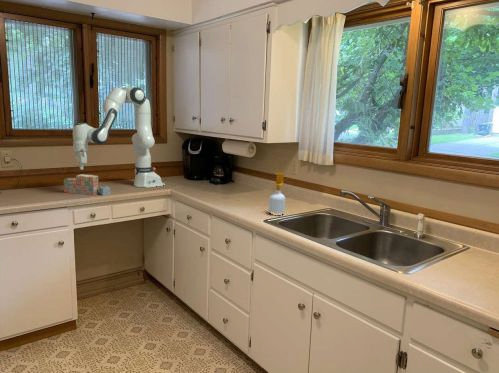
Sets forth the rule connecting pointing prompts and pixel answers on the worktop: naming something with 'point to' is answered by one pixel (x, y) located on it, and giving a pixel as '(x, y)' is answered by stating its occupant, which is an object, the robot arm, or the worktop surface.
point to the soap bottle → (277, 197)
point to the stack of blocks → (82, 185)
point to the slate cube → (104, 190)
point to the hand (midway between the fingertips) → (81, 169)
